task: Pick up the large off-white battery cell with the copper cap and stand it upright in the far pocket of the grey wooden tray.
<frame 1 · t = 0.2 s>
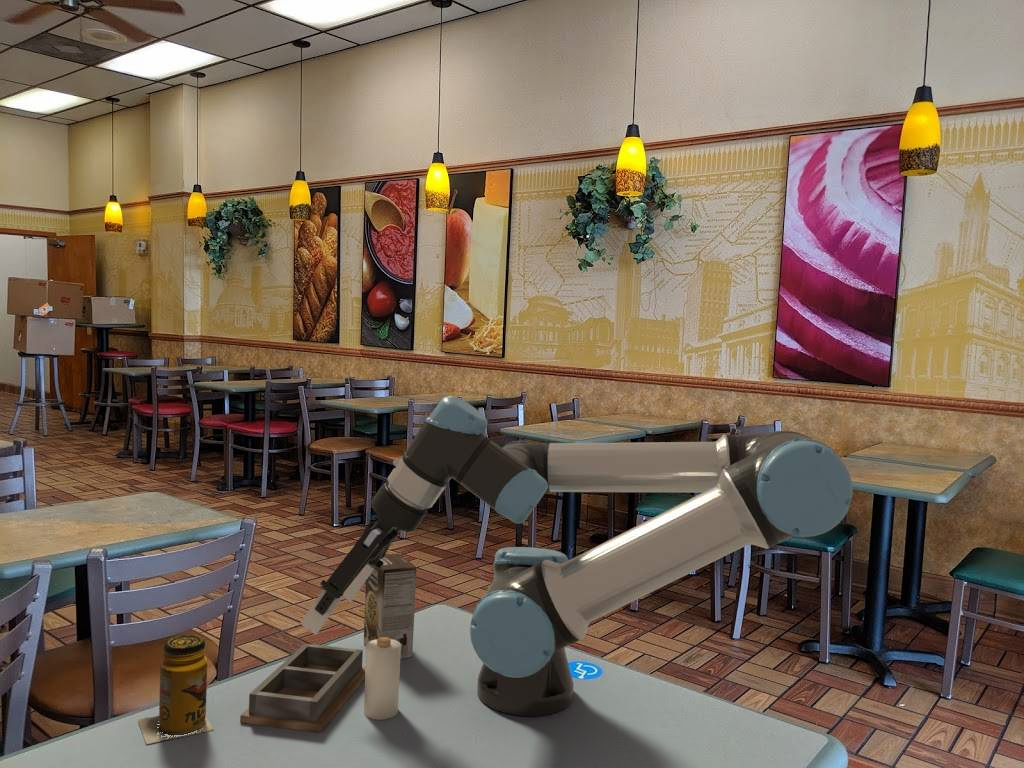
hand: (327, 611, 114), 15 cm above the table, tool tilted 30°, fingers open, 13 cm apart
grey wooden tray: (309, 695, 120), on the table
cell: (380, 711, 116), on the table
coffee box: (387, 651, 138), on the table
condiment: (175, 727, 109), on the table
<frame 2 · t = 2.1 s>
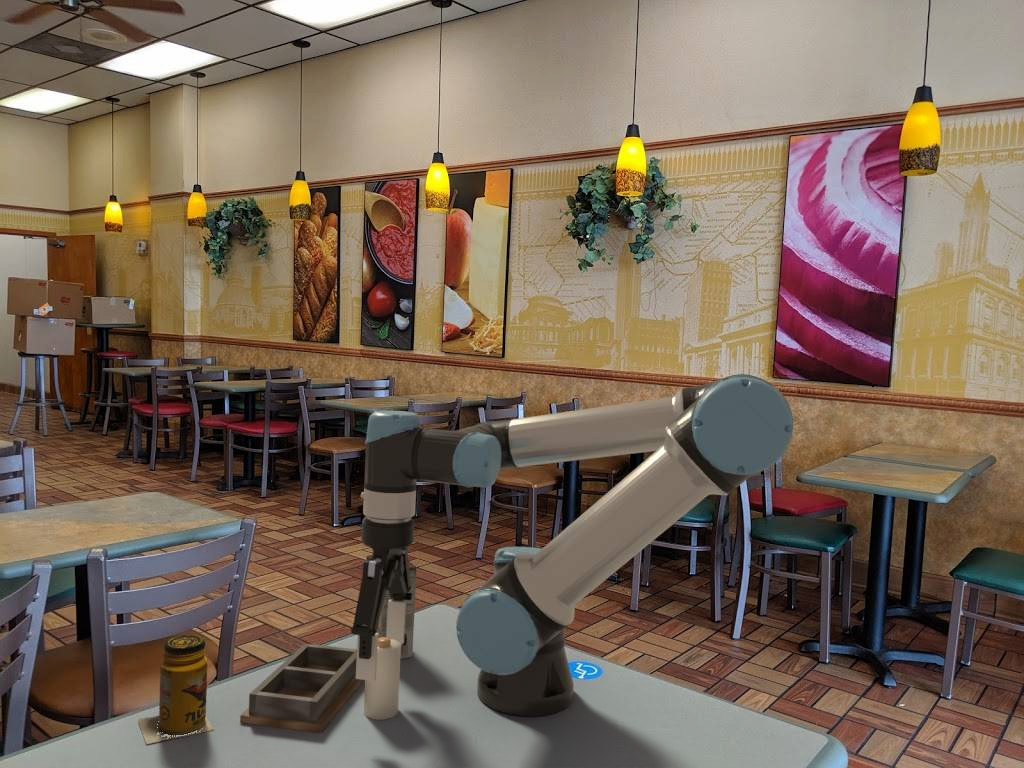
hand: (381, 659, 115), 8 cm above the table, tool pointing down, fingers open, 13 cm apart
nothing on the table moved.
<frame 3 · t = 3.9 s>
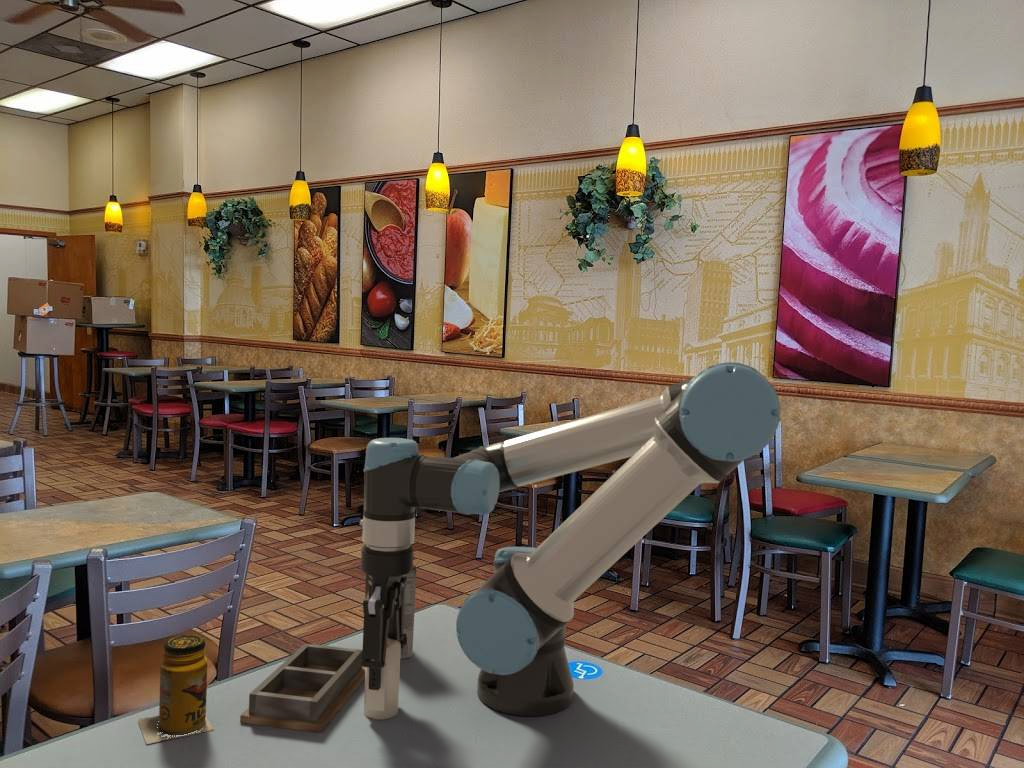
hand: (381, 699, 116), 2 cm above the table, tool pointing down, fingers closed on cell, 5 cm apart
cell: (381, 711, 116), on the table, touching gripper
everything else where it was.
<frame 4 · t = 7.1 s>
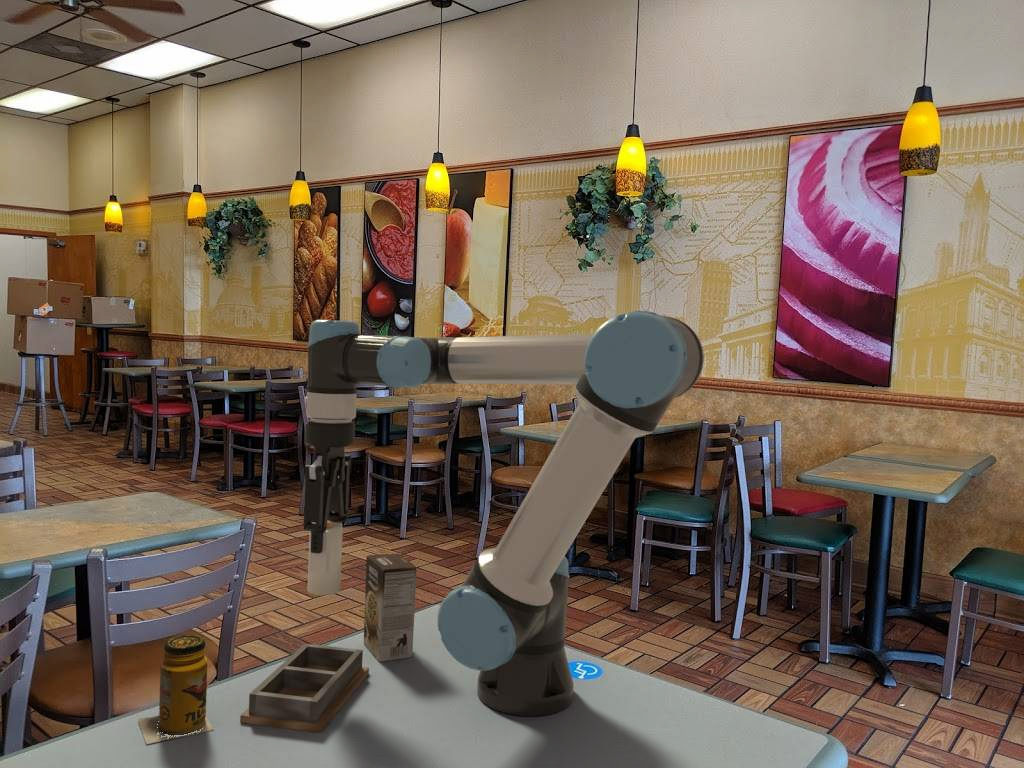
hand: (325, 567, 123), 19 cm above the table, tool pointing down, fingers closed on cell, 5 cm apart
cell: (323, 590, 123), point 15 cm above the table, touching gripper
everything else where it was.
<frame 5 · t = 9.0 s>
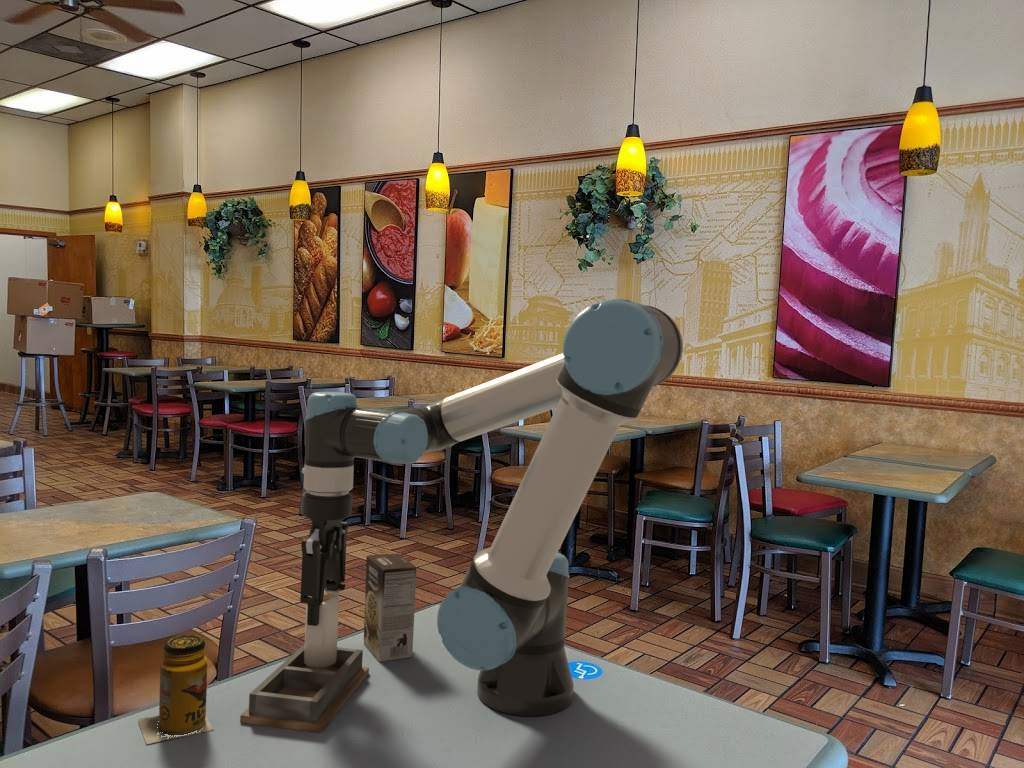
hand: (321, 636, 124), 7 cm above the table, tool pointing down, fingers closed on cell, 5 cm apart
cell: (320, 660, 124), point 4 cm above the table, touching gripper
everything else where it was.
when the fingers open (4 cm above the table, at t = 10.4 s): cell stays where it is, resting on grey wooden tray.
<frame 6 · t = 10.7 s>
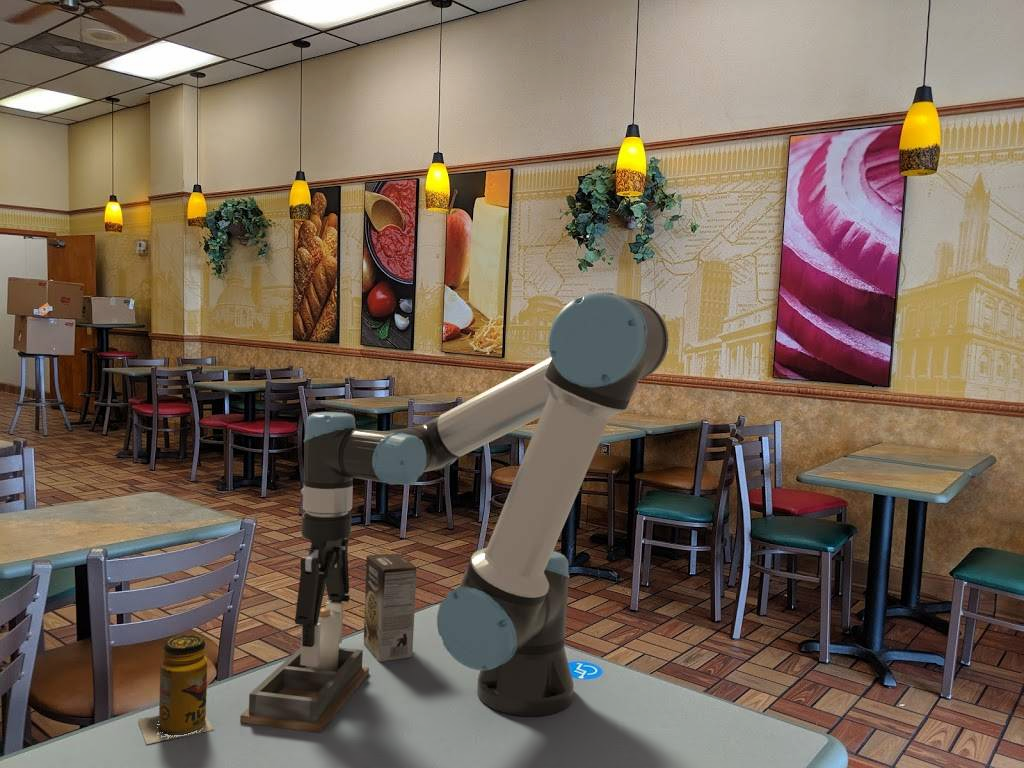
hand: (321, 652, 124), 5 cm above the table, tool pointing down, fingers open, 9 cm apart
cell: (321, 677, 124), point 1 cm above the table, touching grey wooden tray
everything else where it was.
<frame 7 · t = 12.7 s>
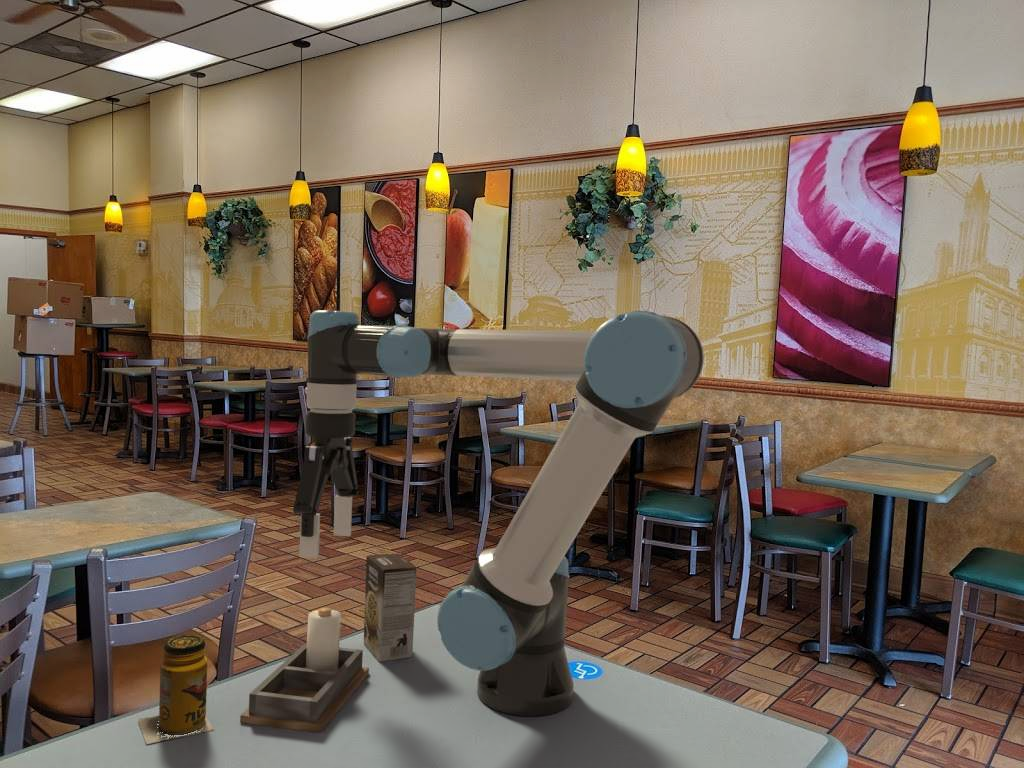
hand: (326, 545, 123), 22 cm above the table, tool pointing down, fingers open, 13 cm apart
nothing on the table moved.
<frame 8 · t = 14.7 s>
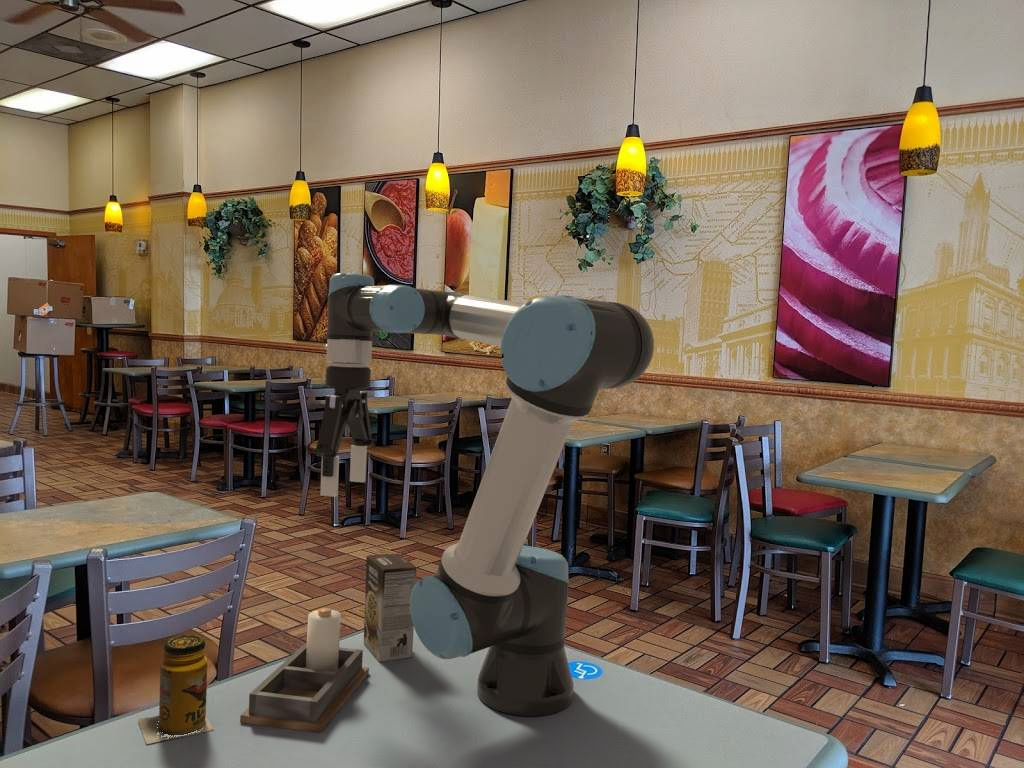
hand: (344, 488, 135), 29 cm above the table, tool pointing down, fingers open, 13 cm apart
nothing on the table moved.
at the end: cell 0.1 cm from the target spot on the grey wooden tray, point 1.0 cm above the grey wooden tray's base; cell tilted 1°; the gripper is holding nothing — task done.
